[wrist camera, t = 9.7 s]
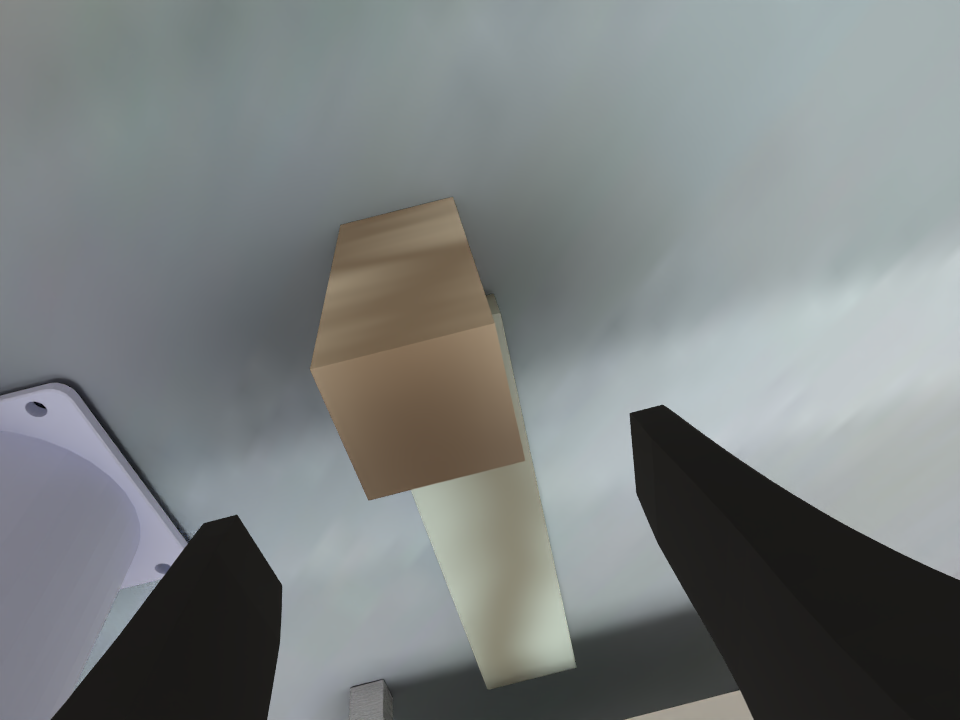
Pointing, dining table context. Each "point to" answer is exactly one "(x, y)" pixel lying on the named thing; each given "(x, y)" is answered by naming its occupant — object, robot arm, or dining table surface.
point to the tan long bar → (443, 426)
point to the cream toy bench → (712, 716)
